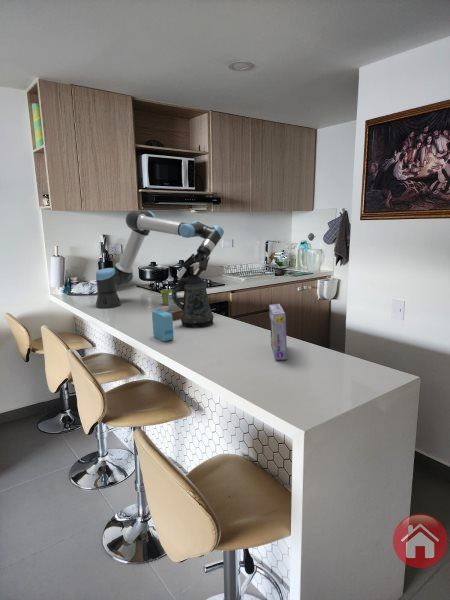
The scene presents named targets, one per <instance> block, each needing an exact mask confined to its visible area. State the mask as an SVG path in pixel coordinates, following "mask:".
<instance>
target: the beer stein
mask: <svg viewBox="0 0 450 600" xmlns="http://www.w3.org/2000/svg"><path fill="white" fill-rule="evenodd" d="M207 286H208V283H207V281H205V280H204V279H203V278H201V277H200V275H199V276H198V275H197V274H194V273H193V274H188V275H187V277H185V278H181V279H179V280H178V281H177V284H176V285H174V286H173V287H172V288H171V290H172V299H173V301H174V303H175V304H176V305H177V306H178V307H179V308H180V309H182V310H183V313H182V317H181V319H180V322H181V325H182V326H183V327H184V328H189V329H190V328H191V329H199V328H206V327H210V326H212V325H213V322H214V314H213V312H212V310H211V307H210V302H209V298H208V292H207V288H208V287H207ZM179 291H184V292H183V304H182V303H181V302H180V300H179V299H178V298H177V296H176V293H177V294H178V292H179Z"/></svg>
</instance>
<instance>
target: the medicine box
mask: <svg viewBox="0 0 450 600" xmlns="http://www.w3.org/2000/svg"><path fill="white" fill-rule="evenodd" d="M176 296H177V298H178V292H177V293H176ZM168 304H169V305H168V307H169V311H177V308H178V306H177V305H176V304H175V303H174V301H173V299H172V292H171V293H169V295H168Z"/></svg>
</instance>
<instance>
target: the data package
mask: <svg viewBox="0 0 450 600" xmlns="http://www.w3.org/2000/svg"><path fill="white" fill-rule="evenodd" d="M151 315H152V316H151V318H152V334H153V337H155V338H156V339H157V340H160V341H162V342H163V343H165V342H169V341H173V340H174V337H175V336H174V321H173V319H172V314H171V313H168V312H166V311H163V310H159V309H157V310H153V311H151Z"/></svg>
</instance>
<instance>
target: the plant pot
mask: <svg viewBox="0 0 450 600" xmlns="http://www.w3.org/2000/svg"><path fill="white" fill-rule="evenodd" d="M171 292H172V289H161V290H160V294H161V299H162V304H163V305H164V306H169V304H168V295H169V293H171Z"/></svg>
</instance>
